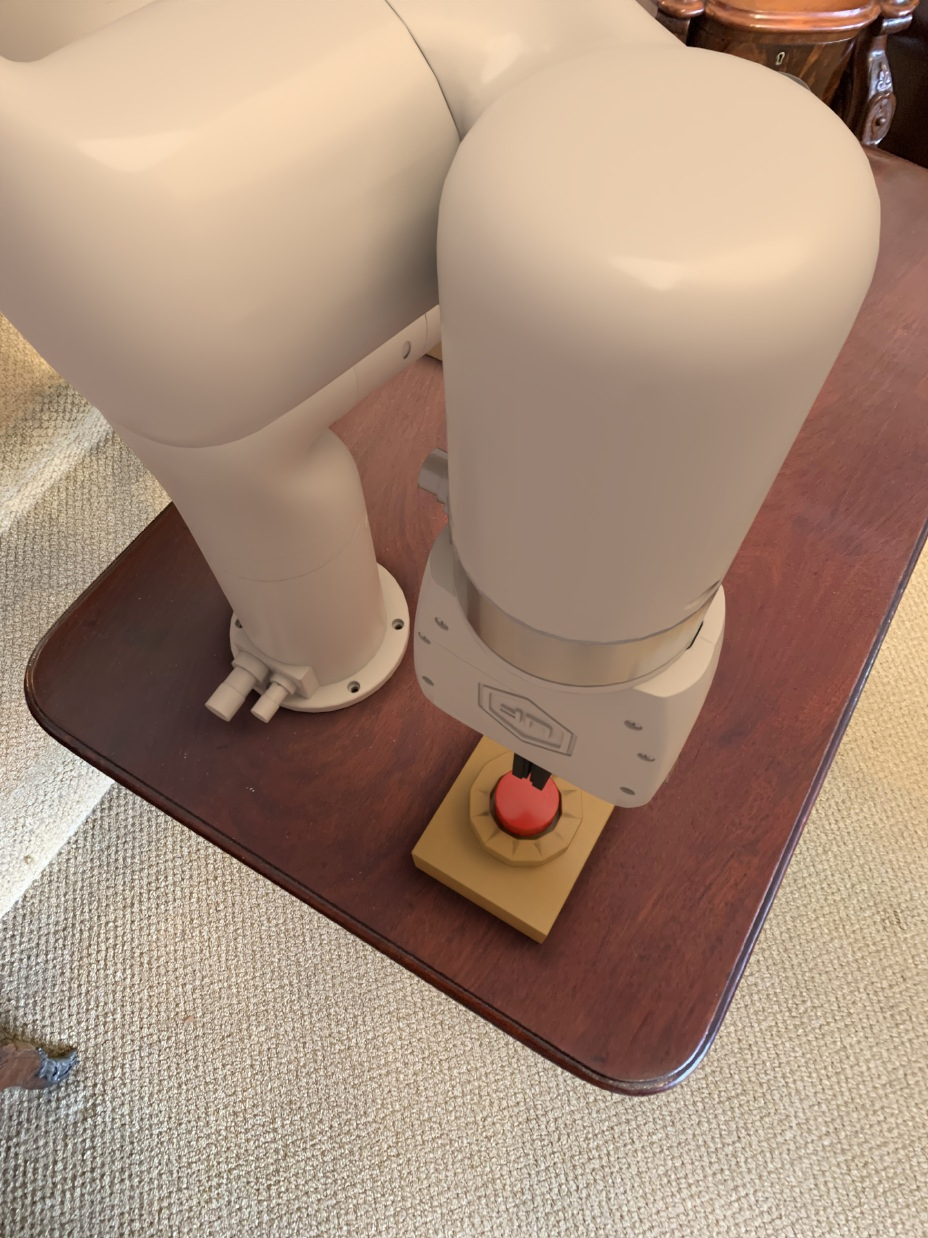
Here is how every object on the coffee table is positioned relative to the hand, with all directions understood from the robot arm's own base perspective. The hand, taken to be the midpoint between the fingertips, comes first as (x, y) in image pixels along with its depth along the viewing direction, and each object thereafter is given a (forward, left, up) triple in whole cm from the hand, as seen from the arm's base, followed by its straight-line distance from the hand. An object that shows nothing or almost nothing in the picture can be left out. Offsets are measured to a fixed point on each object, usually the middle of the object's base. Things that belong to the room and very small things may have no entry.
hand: (542, 756), depth 41 cm
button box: (0, 0, -16) cm, 16 cm away
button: (0, 0, -10) cm, 10 cm away
